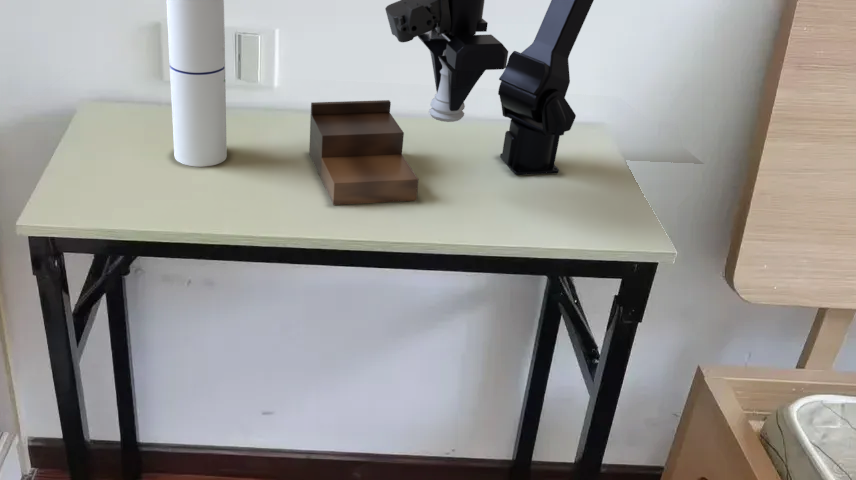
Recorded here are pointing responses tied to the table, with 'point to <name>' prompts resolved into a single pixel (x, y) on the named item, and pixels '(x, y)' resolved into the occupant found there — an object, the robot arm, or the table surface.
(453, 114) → the rook chess piece
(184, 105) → the cylindrical container
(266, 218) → the table surface
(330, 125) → the brown wooden stepped block
